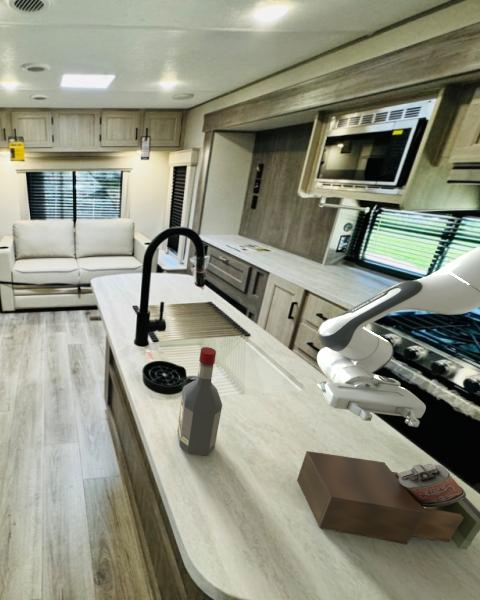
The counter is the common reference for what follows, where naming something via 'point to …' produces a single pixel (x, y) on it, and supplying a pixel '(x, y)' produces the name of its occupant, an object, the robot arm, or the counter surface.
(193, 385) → the liquor
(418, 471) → the small labelled tin can
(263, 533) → the counter surface
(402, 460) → the counter surface
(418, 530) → the drawer
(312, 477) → the cabinet
